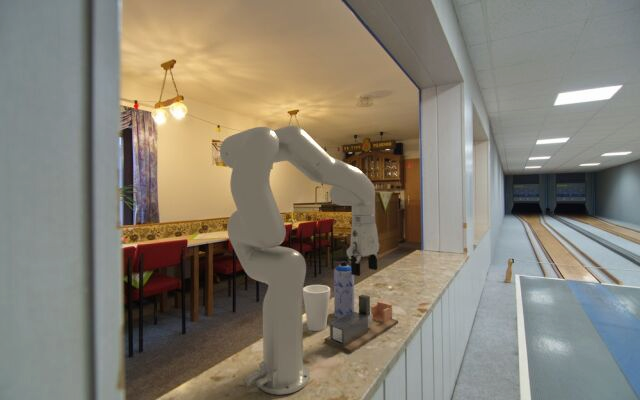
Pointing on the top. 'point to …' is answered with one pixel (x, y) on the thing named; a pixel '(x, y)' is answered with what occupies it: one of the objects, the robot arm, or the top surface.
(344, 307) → the aerosol can
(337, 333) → the square sliding rod
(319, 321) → the foam cup
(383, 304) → the socket block
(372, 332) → the track board
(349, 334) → the outer sleeve
